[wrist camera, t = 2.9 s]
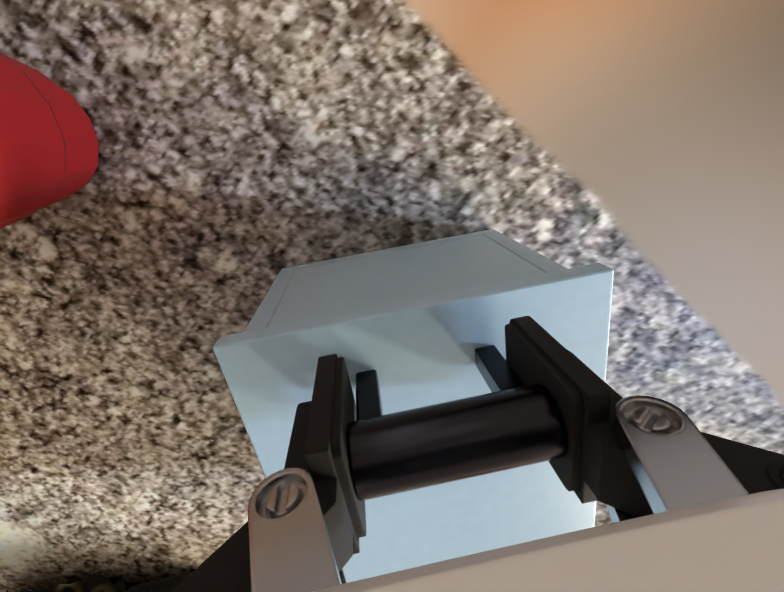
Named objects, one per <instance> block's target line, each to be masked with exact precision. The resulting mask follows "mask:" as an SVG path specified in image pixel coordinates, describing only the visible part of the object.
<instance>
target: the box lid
mask: <svg viewBox="0 0 784 592" xmlns="http://www.w3.org/2000/svg"><path fill="white" fill-rule="evenodd" d="M613 275H614V270H613V269H612V268H609V267H607V266H605V265H603V264H600V263H596V264H591V265H585V266H580V267H575V268H570V269H565V270H560V271H555V272H549V273H544V274H539V275H534V276H529V277H524V278H519V279H513V280H508V281H503V282H498V283H493V284H488V285H482V286H477V287H472V288H467V289H462V290H457V291H452V292H446V293H441V294H436V295H431V296H426V297H421V298H415V299H410V300H405V301H400V302H395V303H390V304H385V305H379V306H374V307H369V308H364V309H359V310H354V311H348V312H343V313H338V314H333V315H328V316H323V317H318V318H312V319H307V320H302V321H297V322H292V323H287V324H282V325H276V326H271V327H266V328H261V329H256V330H251V331H245V332H240V333H235V334H230V335H225V336H221V337H220V338H219V339H218V341H217V342H216V344H215V345H214V346H213V350H214V353H215V355H216V358H217V360H218V363H219V365H220V368H221V370H222V372H223V375H224V377H225V380H226V382H227V385H228V387H229V390H230V392H231V394H232V397H233V399H234V402H235V404H236V407H237V409H238V412H239V414H240V417H241V419H242V421H243V424H244V426H245V429H246V431H247V434H248V436H249V439H250V441H251V443H252V446H253V448H254V451H255V453H256V456H257V458H258V461H259V463H260V465H261V468H262V470H263V473H264V475H265V478H267V477H268V476H270V475H271V474H273V473H275V472H277V471H279V470H283V469H284V466H285V461H286V457H287V452H288V447H289V442H290V438H291V433H292V428H293V423H294V419H295V414H296V409H297V406H298V404H299V403H303V402H308V401H312V395H313V388H314V382H315V376H316V369H317V363H318V358H319V357H321V356H326V355H332V354H337V356H338V358H340V357H344V359H345V363H346V367H347V371H348V375H349V379H350V383H351V387H352V391H353V395H354V399H355V403H356V421H352V422H350V423H348V425H347V452H348V460H349V468H350V474H351V479H352V483H353V488H354V491H355V494H356V497H357V499H358V500H360V501H365V510H366V536H365V537H360V538H359V547H360V553H357V554H353V556H352V557H351V558H350V559H349V561H348V562H347V563H346V565H345V566H344V567H343V570H344V574H345V577H346V581H347V583H349V582H353V581H357V580H362V579H366V578H370V577H375V576H379V575H383V574H388V573H392V572H397V571H401V570H405V569H410V568H414V567H418V566H423V565H427V564H431V563H436V562H440V561H444V560H449V559H453V558H457V557H462V556H466V555H471V554H475V553H480V552H484V551H489V550H493V549H498V548H502V547H506V546H511V545H515V544H520V543H524V542H529V541H533V540H538V539H542V538H547V537H551V536H556V535H560V534H565V533H569V532H574V531H578V530H583V529H587V528H592V527H594V524H595V511H596V501H593V502H588V503H584V504H582V503H581V501H580V500H579V498H578V497H577V495H576V494H575V492H574V491H568V490H567V489H566V488H565V487H564V485H563V484H562V482H561V481H560V479H559V477H558V476H557V474H556V473H555V471H554V470H553V468H552V466H551V465H550V463H549V462H548V461H551V460H555V459H560V458H563V457H564V456H565V455H566V453H567V450H568V436H567V431H566V426H565V423H564V420H563V417H562V414H561V411H560V409H559V407H558V405H557V403H556V401H555V399H554V398H553V396H552V395H551V393H550V392H549V391H548V390H547V389H546V388H545V387H544V386H543V385H541V384H531V385H526V386H525V385H524V384H523V382H522V381H521V380H520V378H519V377H518V376H517V374H516V373H515V372H514V370H513V369H512V368H511V366H510V365H509V364H508V362H507V361H506V347H505V325H506V324H509V322H510V320H511V319H513V318H518V317H523V316H530V317H531V318H533V319H534V320H535V321H536V322H537V323H538V324H539V325H540V326H541V327H542V328H544V329H545V330H546V331H547V332H548V333H549V334H550V335H551V336H552V337H553V338H555V339H556V340H557V341H558V342H559V343H560V344H561V345H562V346H563V347H564V348H566V349H567V350H569V351H570V352H572V353H573V354H574V355H575V356H576V357H577V358H579V359H580V360H581V361H582V362H583V363H584V364H585V365H586V366H587V367H589V368H590V369H591V370H592V371H593V372H594V373H595V374H596V375H597V376H599V377H600V378H601V379H602V380H603V381H604V382H605V380H606V367H607V354H608V341H609V328H610V314H611V301H612V288H613Z"/></svg>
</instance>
